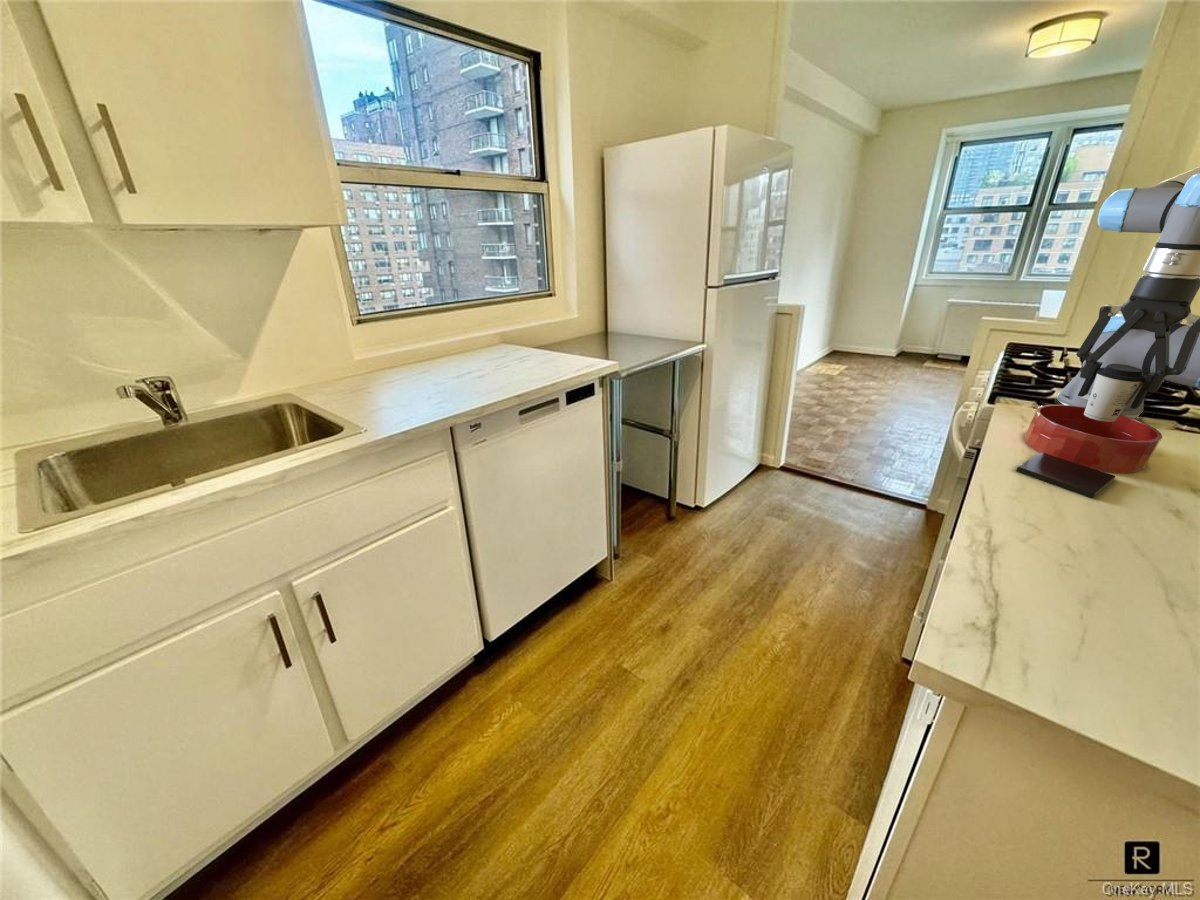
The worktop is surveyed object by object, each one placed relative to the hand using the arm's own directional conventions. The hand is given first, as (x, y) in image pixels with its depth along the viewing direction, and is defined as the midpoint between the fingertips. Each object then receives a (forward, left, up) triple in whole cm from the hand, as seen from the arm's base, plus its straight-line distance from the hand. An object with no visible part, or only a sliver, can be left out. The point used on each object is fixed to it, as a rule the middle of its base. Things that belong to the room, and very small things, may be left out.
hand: (1107, 400), depth 93 cm
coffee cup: (0, 0, -4) cm, 4 cm away
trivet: (+16, +2, -11) cm, 20 cm away
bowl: (0, 0, -11) cm, 11 cm away
